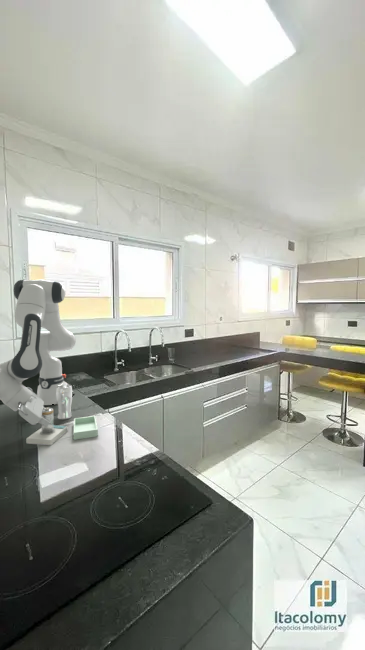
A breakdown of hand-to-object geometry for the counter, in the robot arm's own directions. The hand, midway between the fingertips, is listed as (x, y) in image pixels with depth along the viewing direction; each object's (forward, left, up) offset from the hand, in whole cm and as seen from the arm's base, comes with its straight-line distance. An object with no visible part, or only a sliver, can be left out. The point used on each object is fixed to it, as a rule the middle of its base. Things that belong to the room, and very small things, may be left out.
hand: (49, 420), depth 112 cm
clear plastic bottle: (-20, -5, -7) cm, 21 cm away
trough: (-8, +11, -7) cm, 15 cm away
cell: (0, -1, -5) cm, 5 cm away
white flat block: (0, -1, -7) cm, 7 cm away
